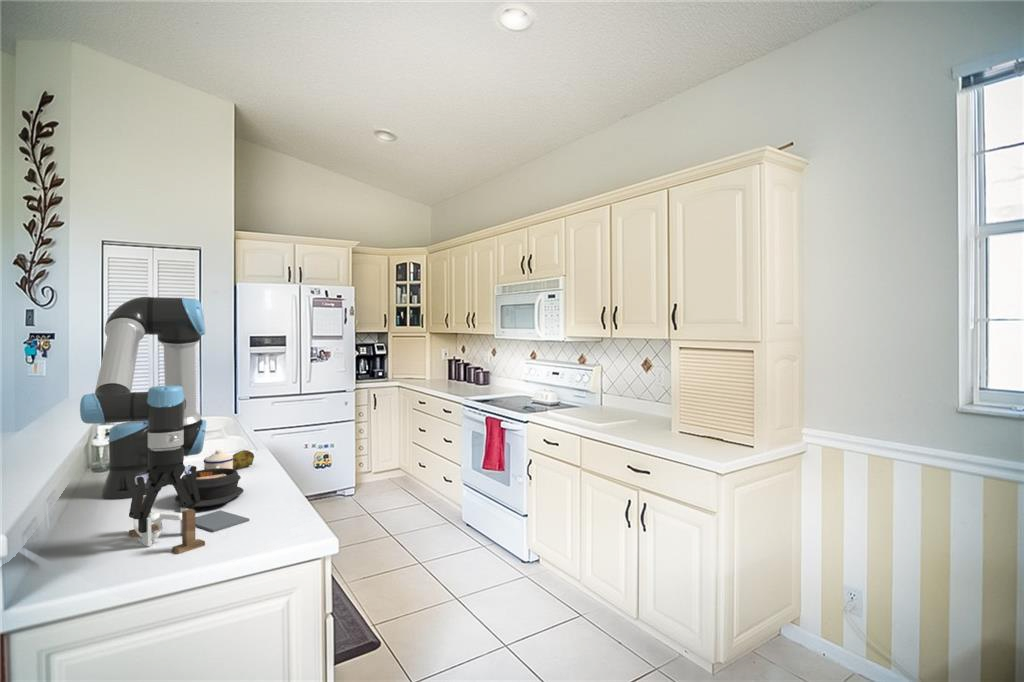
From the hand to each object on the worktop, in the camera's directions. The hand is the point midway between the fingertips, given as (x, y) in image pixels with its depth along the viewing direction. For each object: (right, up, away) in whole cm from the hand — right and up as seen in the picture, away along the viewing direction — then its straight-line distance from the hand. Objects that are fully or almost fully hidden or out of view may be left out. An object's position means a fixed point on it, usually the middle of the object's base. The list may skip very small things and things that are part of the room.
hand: (166, 539), depth 132 cm
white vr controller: (-2, 0, 0) cm, 2 cm away
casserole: (-8, 0, +33) cm, 33 cm away
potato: (-18, 0, +67) cm, 69 cm away
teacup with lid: (-15, 0, +50) cm, 52 cm away
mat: (+5, 0, +13) cm, 14 cm away
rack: (0, 0, 0) cm, 0 cm away
